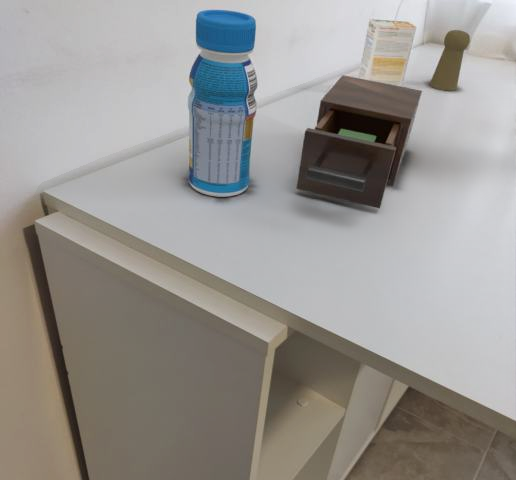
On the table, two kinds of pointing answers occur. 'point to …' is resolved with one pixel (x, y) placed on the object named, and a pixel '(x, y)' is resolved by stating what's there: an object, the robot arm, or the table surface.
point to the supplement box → (387, 51)
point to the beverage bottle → (222, 103)
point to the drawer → (348, 158)
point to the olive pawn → (450, 61)
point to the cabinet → (376, 108)
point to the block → (357, 135)
